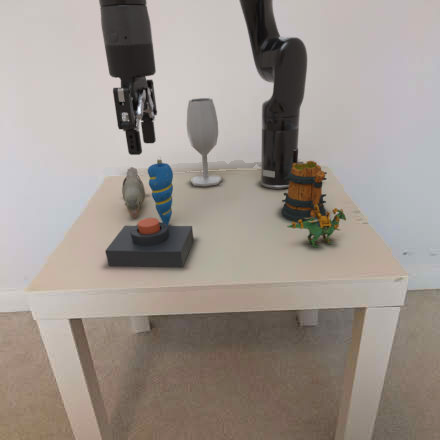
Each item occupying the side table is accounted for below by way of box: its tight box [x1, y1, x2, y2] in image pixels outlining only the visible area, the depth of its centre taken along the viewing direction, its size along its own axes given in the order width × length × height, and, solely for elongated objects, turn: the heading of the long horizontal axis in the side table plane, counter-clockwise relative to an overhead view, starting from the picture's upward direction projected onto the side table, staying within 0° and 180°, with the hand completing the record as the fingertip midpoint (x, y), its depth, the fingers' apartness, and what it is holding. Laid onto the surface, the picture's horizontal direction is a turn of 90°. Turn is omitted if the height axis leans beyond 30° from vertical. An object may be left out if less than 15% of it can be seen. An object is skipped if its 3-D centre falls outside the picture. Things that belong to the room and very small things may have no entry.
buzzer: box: [104, 221, 194, 268], centre depth 76 cm, size 14×11×5 cm
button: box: [136, 217, 160, 234], centre depth 74 cm, size 4×4×2 cm
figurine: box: [286, 204, 347, 248], centre depth 74 cm, size 3×12×8 cm, turn 105°
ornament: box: [147, 156, 174, 226], centre depth 83 cm, size 5×5×15 cm
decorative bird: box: [121, 166, 146, 219], centre depth 96 cm, size 5×16×8 cm, turn 9°
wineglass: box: [186, 97, 222, 187], centre depth 105 cm, size 9×9×21 cm
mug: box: [281, 160, 328, 223], centre depth 85 cm, size 13×10×12 cm
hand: (143, 148), depth 71 cm, fingers open, 8 cm apart
